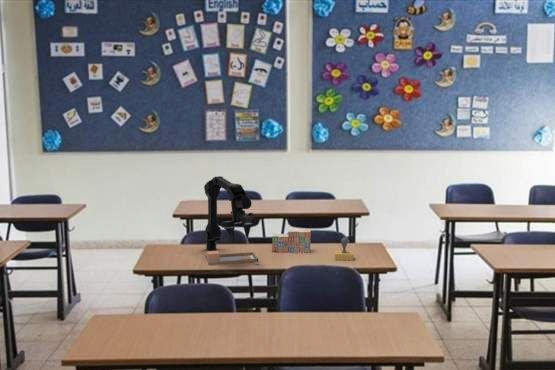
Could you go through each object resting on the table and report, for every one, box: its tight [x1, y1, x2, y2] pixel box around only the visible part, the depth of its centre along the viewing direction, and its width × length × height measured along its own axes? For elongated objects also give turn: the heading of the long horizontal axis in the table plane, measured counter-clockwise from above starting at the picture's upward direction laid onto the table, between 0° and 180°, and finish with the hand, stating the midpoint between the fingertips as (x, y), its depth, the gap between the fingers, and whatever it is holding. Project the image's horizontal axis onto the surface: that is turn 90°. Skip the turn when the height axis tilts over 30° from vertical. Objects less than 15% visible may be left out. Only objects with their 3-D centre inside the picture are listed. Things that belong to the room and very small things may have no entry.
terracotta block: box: [206, 250, 220, 263], centre depth 332 cm, size 5×6×4 cm
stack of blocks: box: [271, 228, 312, 254], centre depth 352 cm, size 21×6×12 cm, turn 85°
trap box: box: [205, 251, 259, 266], centre depth 332 cm, size 13×26×3 cm, turn 103°
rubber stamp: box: [334, 237, 355, 261], centre depth 337 cm, size 10×6×12 cm, turn 85°
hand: (240, 239), depth 325 cm, fingers open, 9 cm apart
